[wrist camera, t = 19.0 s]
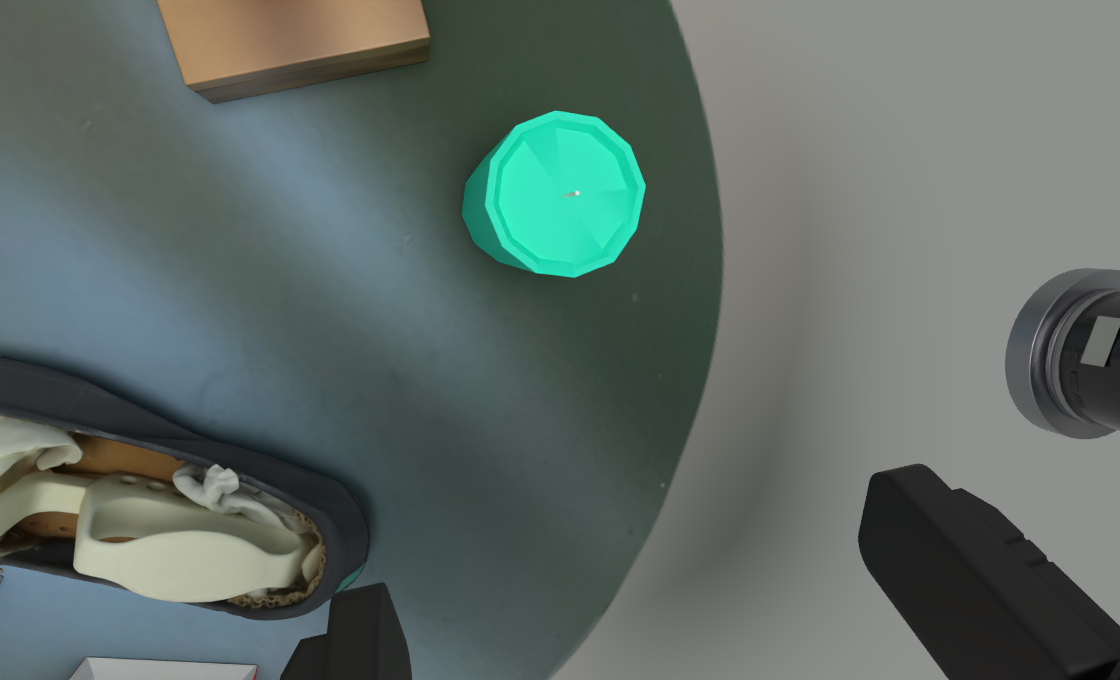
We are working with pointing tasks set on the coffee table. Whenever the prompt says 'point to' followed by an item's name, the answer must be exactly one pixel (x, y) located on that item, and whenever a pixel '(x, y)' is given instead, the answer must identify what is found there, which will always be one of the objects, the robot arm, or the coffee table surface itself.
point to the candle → (555, 196)
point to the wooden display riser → (289, 42)
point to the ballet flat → (164, 505)
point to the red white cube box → (159, 670)
